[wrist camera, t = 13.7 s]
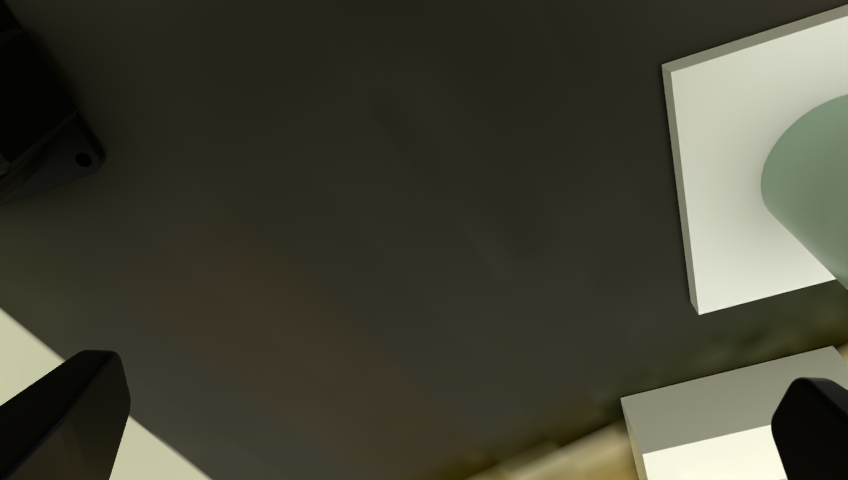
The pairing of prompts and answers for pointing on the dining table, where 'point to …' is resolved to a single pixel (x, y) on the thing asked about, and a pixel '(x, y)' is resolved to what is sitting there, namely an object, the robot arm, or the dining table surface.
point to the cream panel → (746, 153)
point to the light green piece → (813, 184)
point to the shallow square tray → (720, 420)
